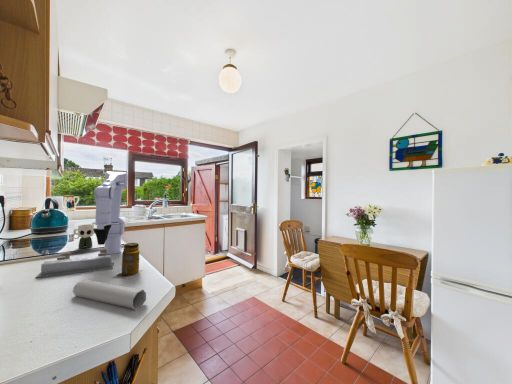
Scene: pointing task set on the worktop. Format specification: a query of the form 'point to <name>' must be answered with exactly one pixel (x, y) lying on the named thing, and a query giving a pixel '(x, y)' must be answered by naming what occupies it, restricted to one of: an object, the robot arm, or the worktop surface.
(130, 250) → the condiment
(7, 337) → the worktop surface
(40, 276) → the mat
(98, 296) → the tube
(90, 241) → the character mug
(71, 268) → the rail
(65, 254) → the rail stand
